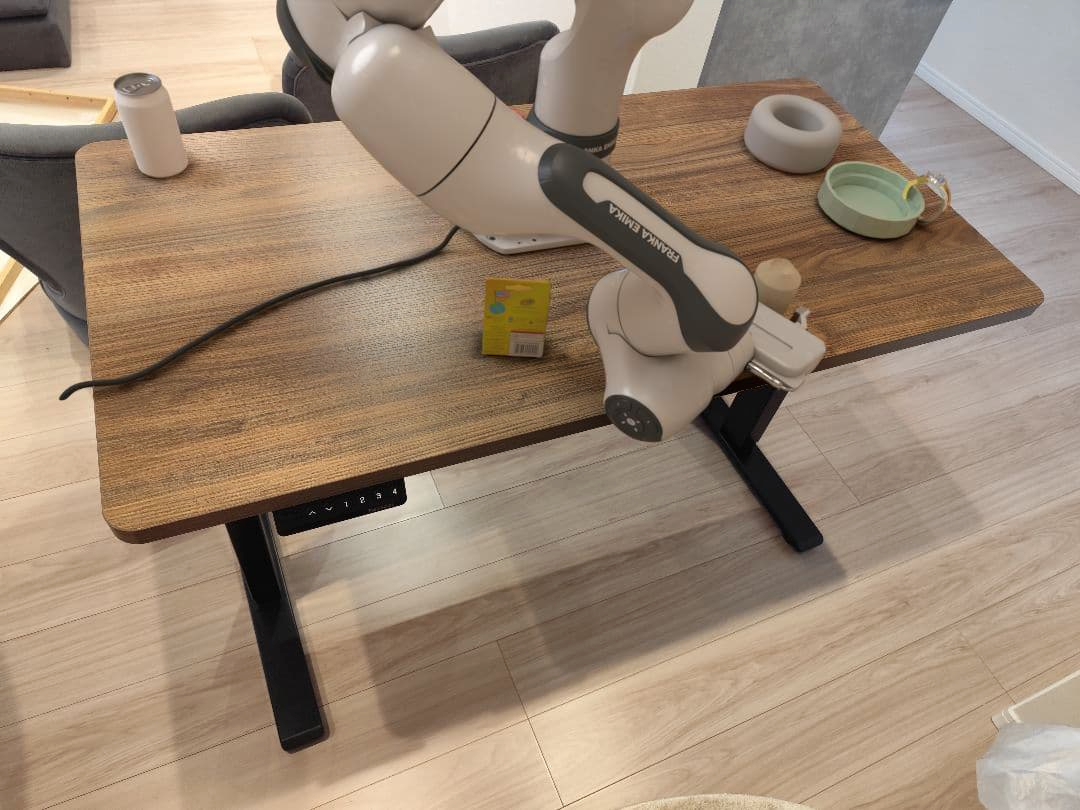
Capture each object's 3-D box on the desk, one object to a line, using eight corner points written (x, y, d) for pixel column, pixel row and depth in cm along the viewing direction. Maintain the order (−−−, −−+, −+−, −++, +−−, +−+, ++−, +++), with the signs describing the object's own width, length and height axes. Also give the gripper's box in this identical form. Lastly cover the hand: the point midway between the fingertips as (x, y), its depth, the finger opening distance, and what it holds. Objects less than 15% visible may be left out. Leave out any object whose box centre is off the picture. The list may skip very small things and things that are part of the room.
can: (199, 165, 103) (176, 83, 94) (161, 185, 100) (133, 102, 90) (167, 147, 105) (141, 65, 96) (128, 166, 101) (97, 83, 92)
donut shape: (786, 120, 131) (800, 84, 126) (847, 165, 123) (865, 128, 118) (723, 136, 125) (736, 99, 120) (784, 185, 117) (800, 147, 112)
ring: (889, 208, 116) (915, 164, 110) (903, 204, 117) (929, 160, 111) (922, 234, 112) (951, 190, 106) (936, 230, 114) (965, 186, 108)
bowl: (866, 252, 108) (878, 230, 105) (795, 195, 116) (805, 173, 113) (931, 227, 114) (945, 206, 111) (860, 174, 122) (871, 153, 119)
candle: (776, 344, 94) (806, 285, 86) (733, 334, 94) (760, 275, 86) (775, 315, 97) (805, 256, 89) (735, 306, 97) (760, 246, 90)
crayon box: (541, 340, 89) (554, 267, 80) (542, 358, 87) (555, 285, 78) (481, 336, 89) (486, 262, 80) (480, 354, 87) (485, 280, 78)
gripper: (801, 378, 78) (857, 317, 85) (648, 281, 85) (712, 232, 93) (779, 415, 83) (834, 354, 90) (637, 320, 90) (698, 271, 97)
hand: (771, 292), depth 91 cm, fingers open, 8 cm apart
